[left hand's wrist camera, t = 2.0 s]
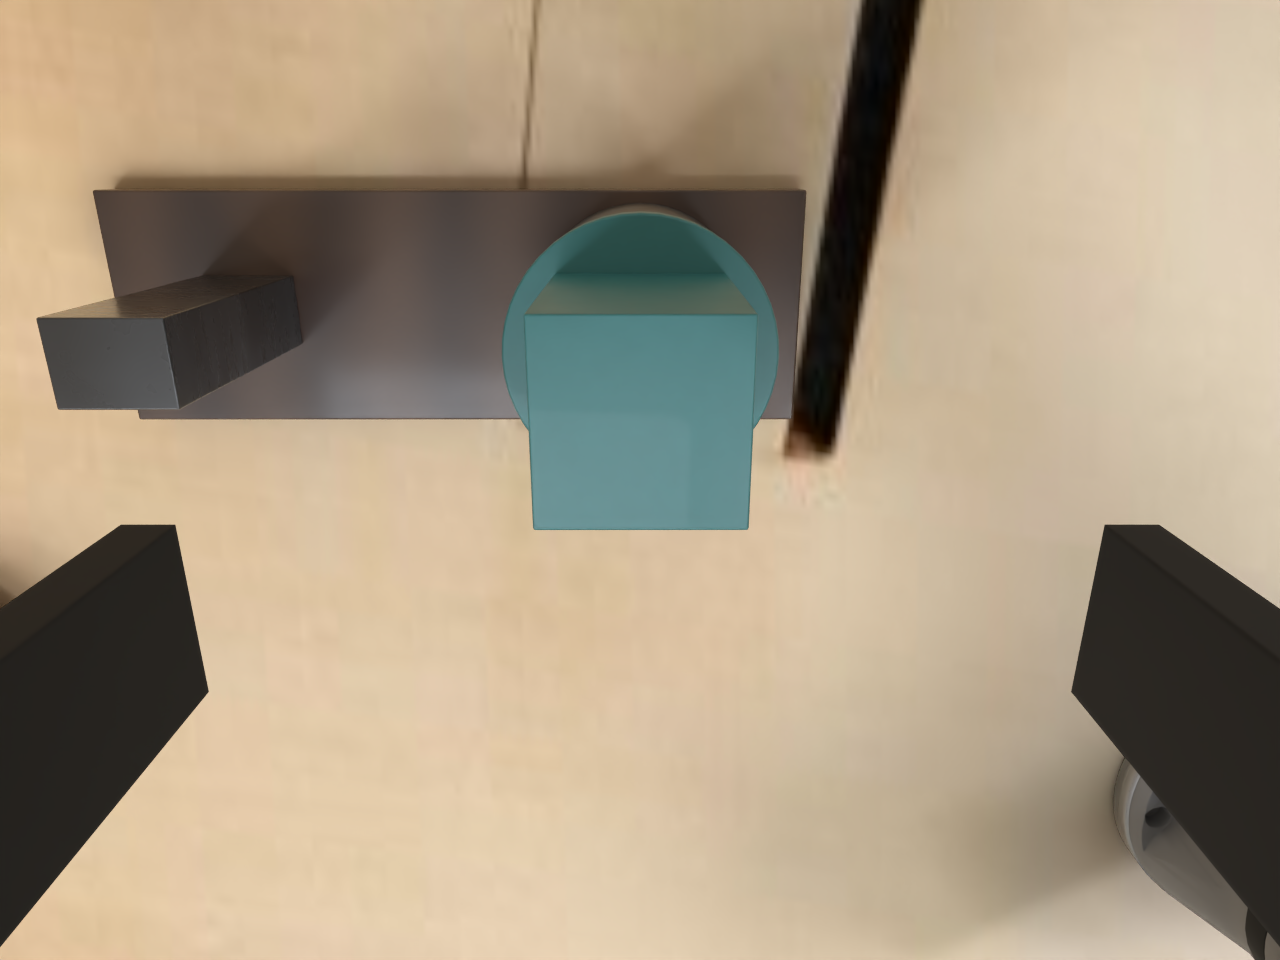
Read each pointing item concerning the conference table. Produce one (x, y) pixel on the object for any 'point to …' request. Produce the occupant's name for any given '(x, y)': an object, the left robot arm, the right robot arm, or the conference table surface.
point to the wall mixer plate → (355, 296)
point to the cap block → (640, 375)
